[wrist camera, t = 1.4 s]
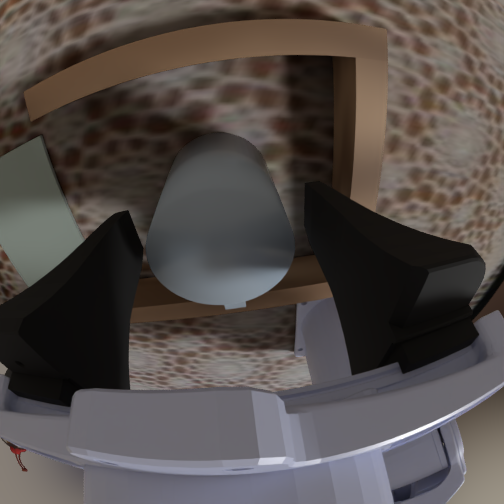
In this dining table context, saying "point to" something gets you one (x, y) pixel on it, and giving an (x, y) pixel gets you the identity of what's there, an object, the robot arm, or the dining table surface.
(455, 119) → the dining table surface
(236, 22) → the wooden frame
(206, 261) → the grey rounded cylinder
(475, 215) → the dining table surface
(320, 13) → the dining table surface
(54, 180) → the mat
